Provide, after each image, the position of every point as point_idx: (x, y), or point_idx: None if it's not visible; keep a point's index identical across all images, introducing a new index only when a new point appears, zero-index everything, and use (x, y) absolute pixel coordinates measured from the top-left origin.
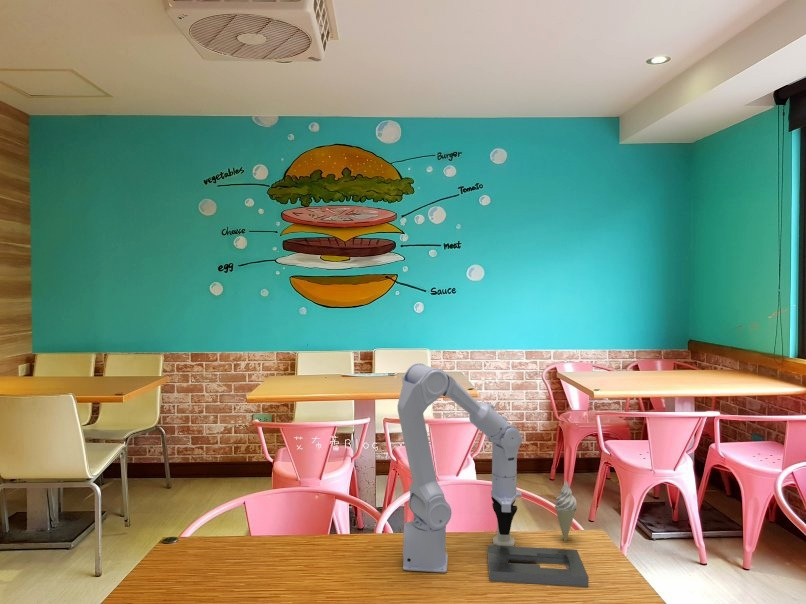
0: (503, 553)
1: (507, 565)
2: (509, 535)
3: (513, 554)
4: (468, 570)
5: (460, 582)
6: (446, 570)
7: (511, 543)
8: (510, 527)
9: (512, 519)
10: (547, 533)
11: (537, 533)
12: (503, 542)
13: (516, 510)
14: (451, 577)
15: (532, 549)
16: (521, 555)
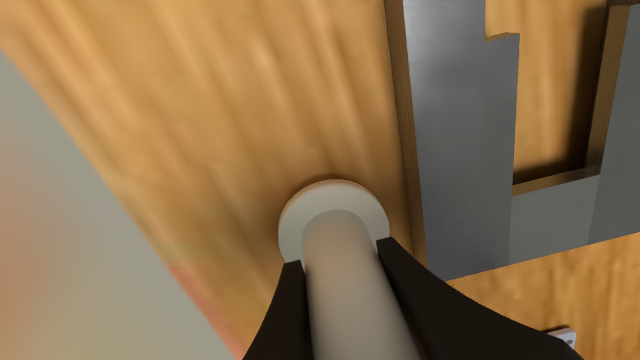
0: (504, 209)
1: (623, 170)
2: (353, 228)
3: (512, 165)
4: (547, 279)
5: (624, 278)
6: (573, 331)
7: (368, 196)
8: (415, 259)
9: (462, 294)
10: (11, 7)
11: (60, 78)
12: (370, 232)
13: (569, 349)
14: (592, 306)
15: (438, 74)
16: (512, 125)
